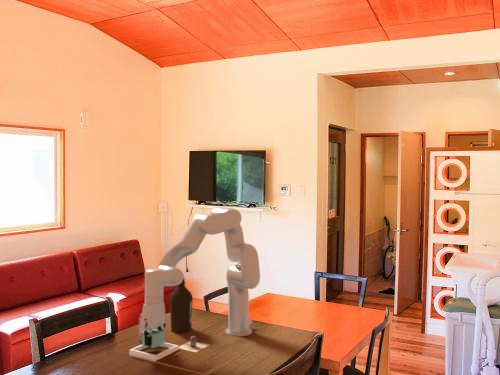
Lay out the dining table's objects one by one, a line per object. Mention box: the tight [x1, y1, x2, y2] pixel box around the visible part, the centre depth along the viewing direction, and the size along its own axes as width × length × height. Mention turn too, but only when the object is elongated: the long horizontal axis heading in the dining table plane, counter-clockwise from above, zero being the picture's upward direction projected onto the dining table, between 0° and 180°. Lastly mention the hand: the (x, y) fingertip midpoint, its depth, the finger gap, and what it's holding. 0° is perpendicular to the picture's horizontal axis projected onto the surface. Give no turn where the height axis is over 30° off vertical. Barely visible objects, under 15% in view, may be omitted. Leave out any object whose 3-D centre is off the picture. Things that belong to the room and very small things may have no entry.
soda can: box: [138, 312, 156, 343], centre depth 211 cm, size 7×7×12 cm
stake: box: [179, 335, 210, 353], centre depth 203 cm, size 10×10×5 cm
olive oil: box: [169, 277, 194, 334], centre depth 224 cm, size 11×11×25 cm
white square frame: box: [128, 341, 180, 363], centre depth 196 cm, size 14×14×2 cm
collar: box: [141, 328, 166, 349], centre depth 197 cm, size 8×6×5 cm
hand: (153, 342), depth 196 cm, fingers closed on collar, 6 cm apart
